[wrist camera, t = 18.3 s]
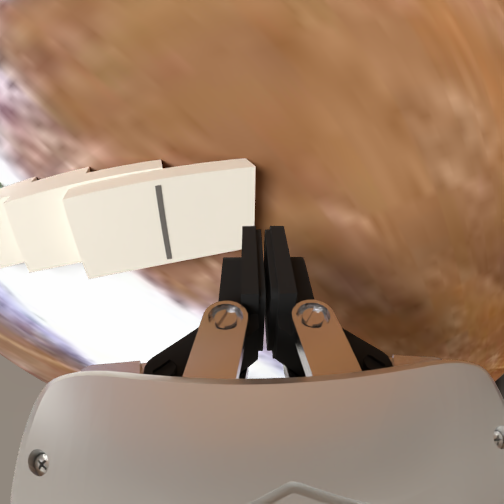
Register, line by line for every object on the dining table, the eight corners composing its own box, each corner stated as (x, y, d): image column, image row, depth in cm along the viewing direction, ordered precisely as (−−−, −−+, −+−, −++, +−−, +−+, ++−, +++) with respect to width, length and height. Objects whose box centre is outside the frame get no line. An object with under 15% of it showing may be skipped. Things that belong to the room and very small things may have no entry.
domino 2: (162, 167, 14) (3, 203, 11) (171, 245, 17) (29, 272, 14) (160, 159, 16) (12, 192, 13) (169, 232, 18) (35, 258, 16)
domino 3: (255, 166, 14) (62, 199, 12) (254, 247, 17) (88, 279, 14) (245, 158, 16) (69, 187, 13) (245, 233, 19) (91, 262, 16)
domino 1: (84, 174, 14) (-34, 211, 11) (102, 245, 17) (-10, 270, 14) (89, 166, 15) (-25, 201, 13) (104, 233, 18) (-3, 258, 16)
